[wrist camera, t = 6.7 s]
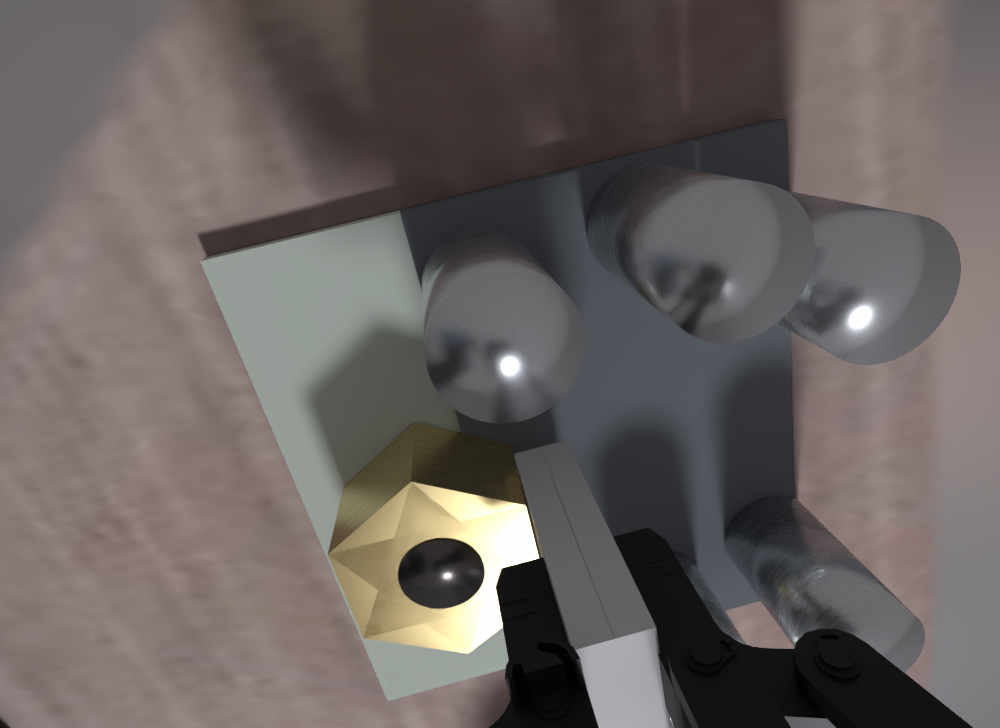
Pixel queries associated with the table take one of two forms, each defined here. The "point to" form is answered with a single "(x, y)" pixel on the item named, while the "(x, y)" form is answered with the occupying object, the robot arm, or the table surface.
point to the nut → (431, 538)
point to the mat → (576, 417)
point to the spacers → (715, 318)
